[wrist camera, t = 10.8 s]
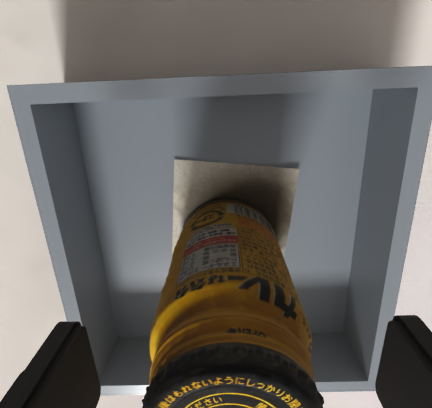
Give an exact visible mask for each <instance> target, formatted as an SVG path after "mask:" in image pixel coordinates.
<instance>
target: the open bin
mask: <svg viewBox="0 0 432 408" xmlns="http://www.w3.org/2000/svg"><path fill="white" fill-rule="evenodd" d="M7 89H8V93H9V97H10V100H11V104H12V108H13V112H14V116H15V120H16V124H17V128H18V132H19V136H20V139H21V143H22V147H23V151H24V155H25V159H26V163H27V167H28V171H29V175H30V178H31V182H32V186H33V190H34V194H35V198H36V202H37V206H38V210H39V214H40V217H41V221H42V225H43V229H44V233H45V237H46V241H47V245H48V249H49V253H50V256H51V260H52V264H53V268H54V272H55V276H56V280H57V284H58V288H59V292H60V295H61V299H62V303H63V307H64V311H65V315H66V319H67V322H72V321H78V322H80V323H81V326H85V327H86V330H87V333H88V337H89V341H90V345H91V349H92V353H93V357H94V361H95V365H96V369H97V373H98V377H99V381H100V385H101V394H100V396H102V395H145V394H146V387H147V386H149V380H150V369H151V364H152V360H151V356H150V331H151V328H152V325H153V321H154V317H155V314H156V310H157V307H158V303H159V301H160V297H161V291H162V289H163V287H164V284H165V281H166V277H167V276H168V273H169V268H170V264H171V261H172V237H173V187H174V159H177V160H190V161H205V162H220V163H224V162H226V163H233V164H246V165H258V166H272V167H283V168H293V169H299V175H298V182H297V187H296V192H295V197H294V203H293V210H292V215H291V223H290V228H289V231H288V232H289V233H288V238H287V242H286V248H285V254H284V260H285V263H286V265H287V268H288V270H289V273H290V276H291V279H292V282H293V284H294V287H295V290H296V292H297V293H298V298H299V300H300V302H301V305H302V307H303V311H304V313H305V316H306V319H307V321H308V324H309V327H310V331H311V335H312V349H311V357H310V361H311V365H312V369H313V374H314V379H313V381H314V382H315V383H316V387H317V390H318V392H345V391H376V388H375V382H376V377H377V372H378V367H379V363H380V358H381V353H382V348H383V343H384V338H385V334H386V329H387V324H388V322H389V321H392V320H393V317H394V314H395V309H396V304H397V299H398V293H399V288H400V283H401V278H402V272H403V267H404V262H405V257H406V251H407V246H408V241H409V236H410V231H411V225H412V220H413V215H414V210H415V204H416V199H417V194H418V189H419V183H420V178H421V173H422V168H423V163H424V157H425V152H426V147H427V142H428V136H429V131H430V126H431V121H432V66H415V67H393V68H372V69H350V70H329V71H307V72H286V73H264V74H243V75H221V76H200V77H178V78H157V79H135V80H114V81H92V82H71V83H50V84H28V85H7ZM205 200H206V199H205Z"/></svg>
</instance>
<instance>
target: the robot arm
mask: <svg viewBox="0 0 432 408" xmlns="http://www.w3.org/2000/svg"><path fill="white" fill-rule="evenodd" d="M375 388H376V393H377V396H378V398H379V400H380V402H381V404H382V406H383V408H432V332H431V331H430V330H429V328H428V327H427V326H426V325H425V324H424V322H423V321H422V320H421V319H420V318H419V317H418V316H416V315H405V316H394V317H393V320H392V321H389V322H388V324H387V329H386V334H385V338H384V343H383V348H382V353H381V358H380V363H379V367H378V372H377V377H376V382H375ZM100 394H101V385H100V381H99V377H98V373H97V369H96V365H95V361H94V357H93V353H92V349H91V345H90V341H89V337H88V333H87V330H86V327H85V326H81V323H80V322H78V321H72V322H59V323H58V324H57V325H56V326H55V327H54V329H53V330H52V332H51V333H50V334H49V336H48V337H47V339H46V340H45V342H44V343H43V345H42V346H41V347H40V349H39V350H38V352H37V353H36V355H35V356H34V357H33V359H32V360H31V362H30V363H29V365H28V366H27V367H26V369H25V370H24V371H23V372H22V373H21V374H20V375H19V376H18V378H17V379H16V380H15V382H14V383H13V385H12V386H11V388H10V389H9V390H8V392H7V393H6V395H5V396H4V397H3V399H2V400H1V402H0V408H96V406H97V404H98V401H99V398H100Z"/></svg>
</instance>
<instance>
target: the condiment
mask: <svg viewBox="0 0 432 408" xmlns="http://www.w3.org/2000/svg"><path fill="white" fill-rule="evenodd" d="M298 175H299V169H293V168H283V167H272V166H258V165H246V164H233V163H226V162H224V163H220V162H205V161H190V160H177V159H174V187H173V237H172V261H171V264H170V268H169V273H168V276H167V277H166V281H165V284H164V287H163V289H162V291H161V297H160V301H159V303H158V307H157V310H156V314H155V317H154V321H153V325H152V328H151V331H150V356H151V360H152V364H151V369H150V380H149V386H147V387H146V394H145V396H144V399H143V400H142V402H143V408H323V406H322V405H323V404H324V400H323V397H322V396H321V394H320V393H319V392H318V390H317V387H316V383H315V382H314V381H313V379H314V374H313V369H312V365H311V361H310V357H311V349H312V335H311V331H310V327H309V324H308V321H307V319H306V316H305V313H304V311H303V307H302V305H301V302H300V300H299V298H298V293H297V292H296V290H295V287H294V284H293V282H292V279H291V276H290V273H289V270H288V268H287V265H286V263H285V260H284V254H285V248H286V242H287V238H288V233H289V232H288V231H289V228H290V223H291V215H292V210H293V203H294V197H295V192H296V187H297V182H298ZM205 199H206V200H205Z"/></svg>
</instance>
